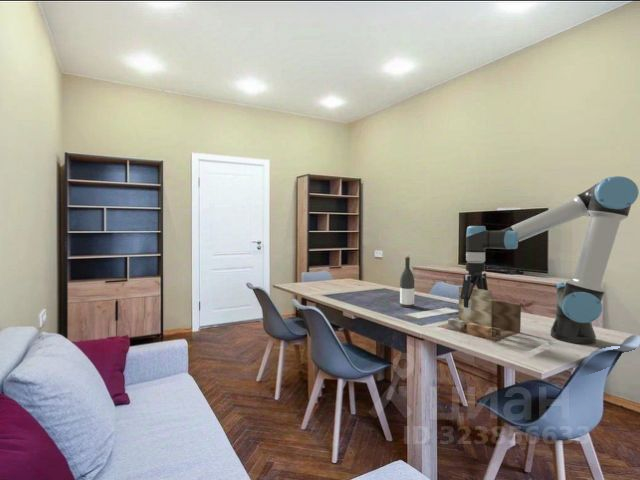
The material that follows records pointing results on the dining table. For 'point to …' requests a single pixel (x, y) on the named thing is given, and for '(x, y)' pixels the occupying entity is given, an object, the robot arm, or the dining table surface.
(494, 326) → the walnut rack
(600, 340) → the dining table surface
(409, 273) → the wine bottle
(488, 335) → the cherry offcut
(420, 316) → the baseboard molding
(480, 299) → the birch sheet
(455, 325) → the grey mdf offcut
